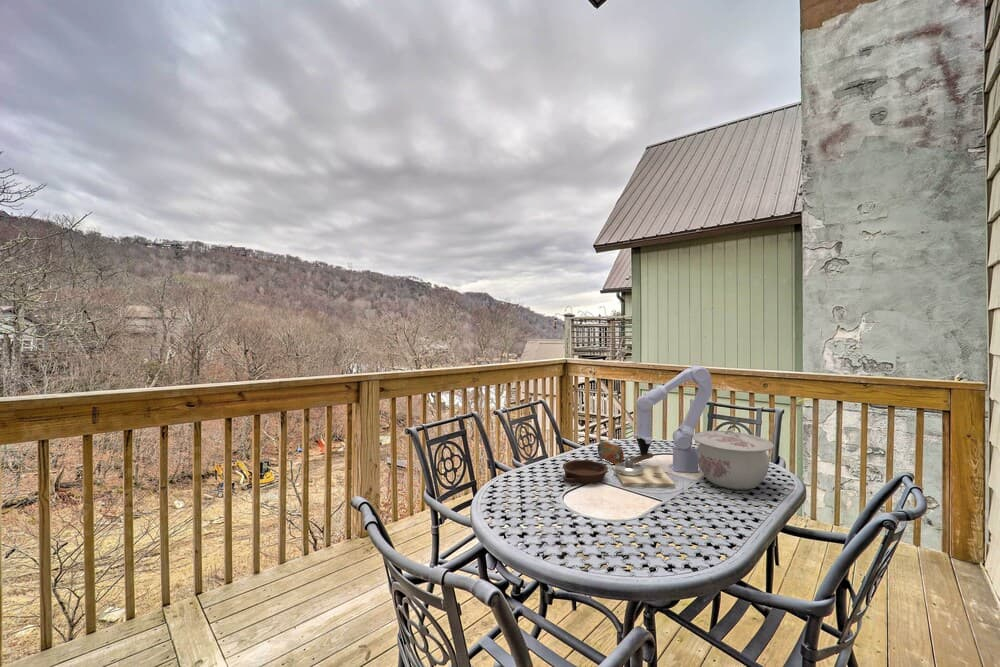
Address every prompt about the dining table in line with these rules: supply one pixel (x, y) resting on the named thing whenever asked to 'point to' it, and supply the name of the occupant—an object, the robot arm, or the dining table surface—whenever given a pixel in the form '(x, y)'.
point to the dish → (584, 472)
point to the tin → (610, 452)
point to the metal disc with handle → (632, 465)
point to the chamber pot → (733, 458)
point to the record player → (646, 478)
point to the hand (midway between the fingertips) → (643, 456)
